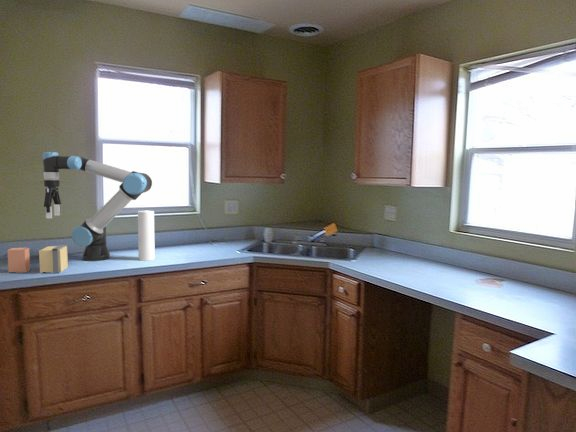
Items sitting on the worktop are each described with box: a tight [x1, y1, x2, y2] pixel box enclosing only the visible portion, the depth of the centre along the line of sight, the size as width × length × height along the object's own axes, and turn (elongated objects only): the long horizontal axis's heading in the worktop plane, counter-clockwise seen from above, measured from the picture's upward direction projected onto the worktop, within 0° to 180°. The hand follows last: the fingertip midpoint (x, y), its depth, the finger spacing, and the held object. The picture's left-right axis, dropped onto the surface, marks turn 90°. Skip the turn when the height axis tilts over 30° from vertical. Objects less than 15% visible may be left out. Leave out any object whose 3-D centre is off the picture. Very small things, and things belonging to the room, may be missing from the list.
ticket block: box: [38, 243, 69, 274], centre depth 222 cm, size 10×15×13 cm, turn 13°
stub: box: [6, 247, 31, 273], centre depth 218 cm, size 8×6×12 cm
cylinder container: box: [137, 209, 156, 262], centre depth 252 cm, size 9×9×30 cm
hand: (53, 217), depth 236 cm, fingers open, 13 cm apart
